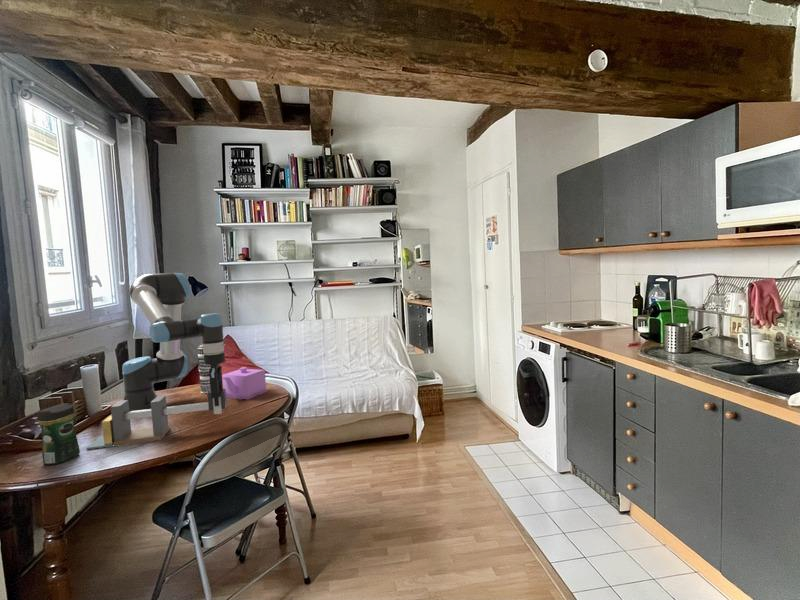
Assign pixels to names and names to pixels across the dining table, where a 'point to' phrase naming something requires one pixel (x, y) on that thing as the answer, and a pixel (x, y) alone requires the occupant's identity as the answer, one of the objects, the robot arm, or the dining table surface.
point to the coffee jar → (58, 433)
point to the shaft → (180, 408)
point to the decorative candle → (203, 371)
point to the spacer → (108, 430)
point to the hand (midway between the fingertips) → (218, 411)
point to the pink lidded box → (244, 383)
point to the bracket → (129, 436)
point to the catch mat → (99, 443)
